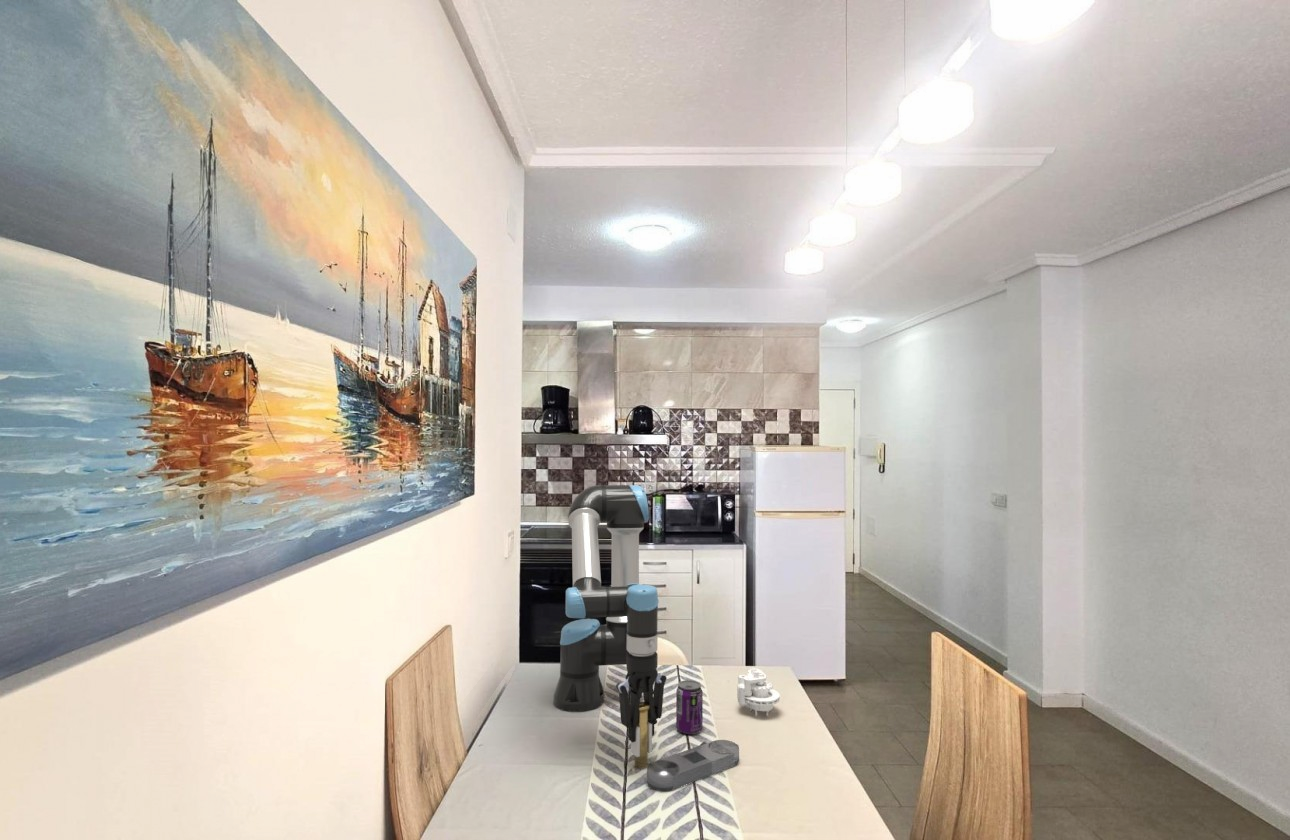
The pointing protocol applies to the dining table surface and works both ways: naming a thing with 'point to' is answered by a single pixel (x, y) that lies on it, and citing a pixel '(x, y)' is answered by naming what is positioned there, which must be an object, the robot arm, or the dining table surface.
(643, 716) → the pin
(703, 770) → the slotted metal plate
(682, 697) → the beverage can
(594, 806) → the dining table surface
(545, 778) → the dining table surface
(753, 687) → the mechanical part
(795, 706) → the dining table surface
